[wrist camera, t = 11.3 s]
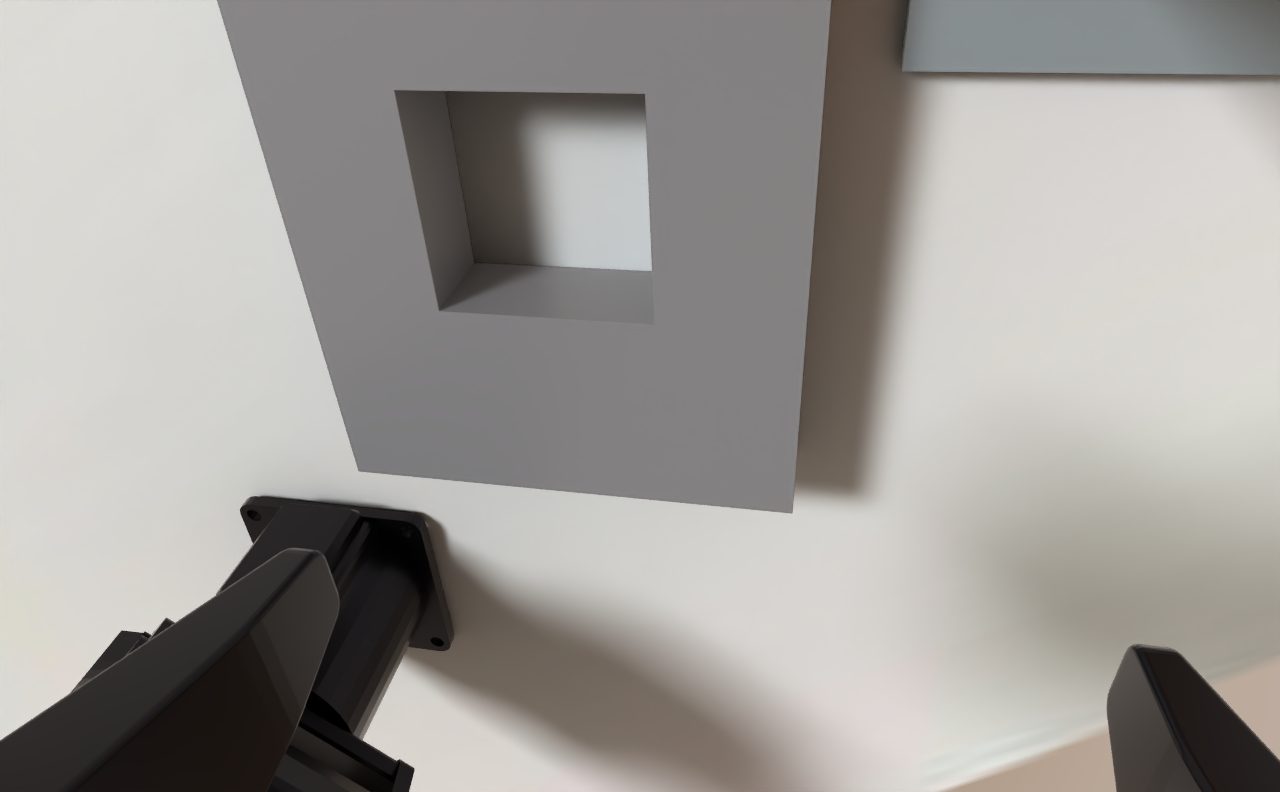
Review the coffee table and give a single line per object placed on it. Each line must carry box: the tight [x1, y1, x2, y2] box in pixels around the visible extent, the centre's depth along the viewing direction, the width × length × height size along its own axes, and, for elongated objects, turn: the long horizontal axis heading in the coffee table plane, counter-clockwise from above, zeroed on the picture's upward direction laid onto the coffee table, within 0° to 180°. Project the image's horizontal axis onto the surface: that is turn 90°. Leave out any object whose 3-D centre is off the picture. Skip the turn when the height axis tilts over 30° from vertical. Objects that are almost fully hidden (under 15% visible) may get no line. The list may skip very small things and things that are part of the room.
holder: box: [217, 0, 831, 513], centre depth 20 cm, size 16×12×2 cm
